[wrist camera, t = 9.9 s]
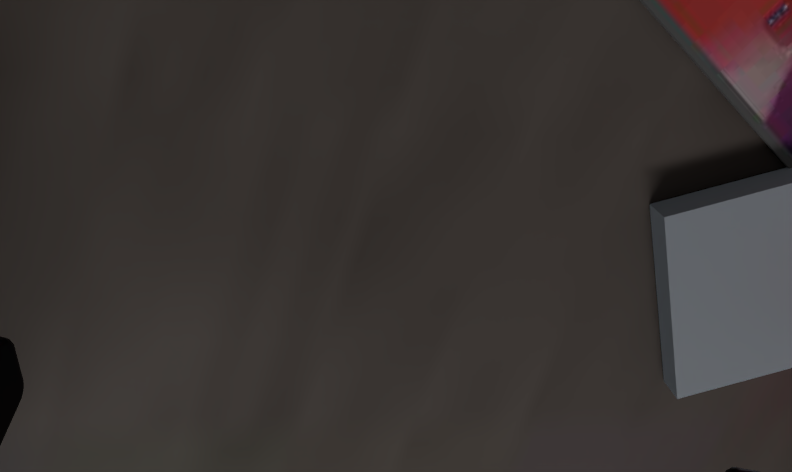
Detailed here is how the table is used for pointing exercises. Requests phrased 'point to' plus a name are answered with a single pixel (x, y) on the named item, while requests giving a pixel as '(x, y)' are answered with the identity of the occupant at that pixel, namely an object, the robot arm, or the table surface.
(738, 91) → the tablet
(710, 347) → the bookstand
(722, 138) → the table surface
